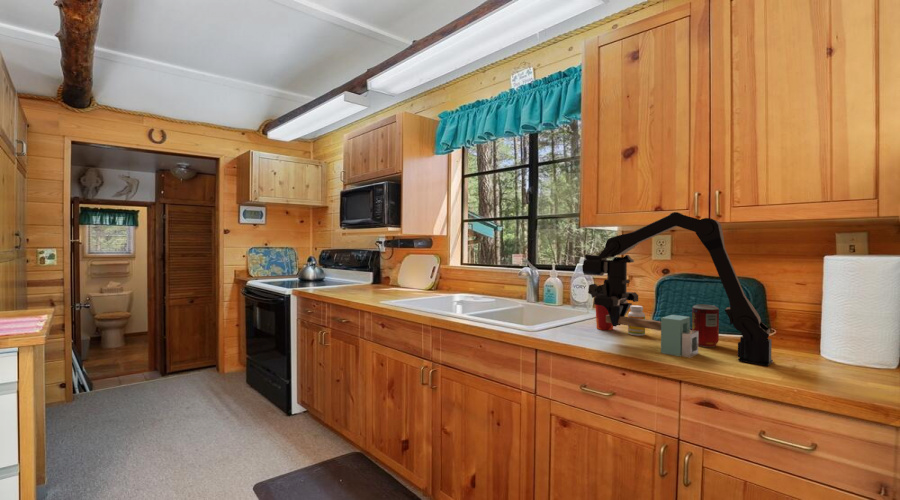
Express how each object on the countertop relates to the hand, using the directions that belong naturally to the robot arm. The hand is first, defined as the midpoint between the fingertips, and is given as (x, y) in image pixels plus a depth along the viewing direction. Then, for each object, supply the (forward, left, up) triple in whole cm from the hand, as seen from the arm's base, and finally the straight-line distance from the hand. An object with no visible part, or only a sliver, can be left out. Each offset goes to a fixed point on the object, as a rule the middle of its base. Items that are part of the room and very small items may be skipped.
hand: (616, 325), depth 134 cm
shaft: (-6, 0, +1) cm, 6 cm away
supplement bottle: (0, -16, -5) cm, 17 cm away
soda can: (-21, -16, -5) cm, 27 cm away
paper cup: (+12, -17, -5) cm, 22 cm away
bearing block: (-18, 0, -5) cm, 18 cm away
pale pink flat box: (-21, 0, -5) cm, 22 cm away
